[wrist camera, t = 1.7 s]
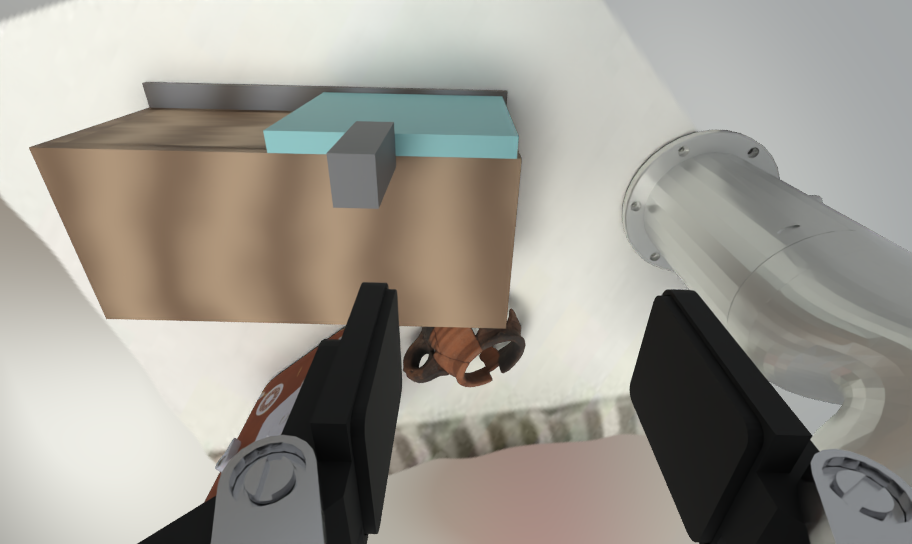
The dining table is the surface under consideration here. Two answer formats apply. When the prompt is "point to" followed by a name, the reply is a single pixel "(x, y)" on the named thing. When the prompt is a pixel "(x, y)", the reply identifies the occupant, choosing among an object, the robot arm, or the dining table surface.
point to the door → (390, 136)
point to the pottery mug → (464, 352)
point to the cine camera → (270, 410)
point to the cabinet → (274, 217)
